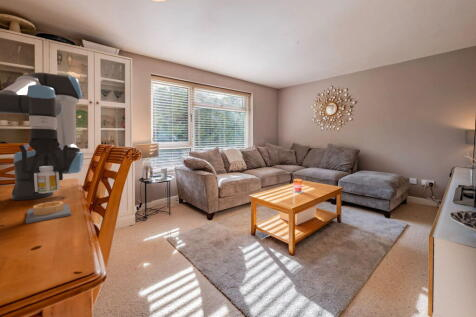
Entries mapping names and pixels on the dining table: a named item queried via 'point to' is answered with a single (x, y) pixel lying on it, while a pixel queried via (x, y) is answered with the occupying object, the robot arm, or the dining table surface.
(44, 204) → the socket plate
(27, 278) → the dining table surface
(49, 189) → the supplement bottle
